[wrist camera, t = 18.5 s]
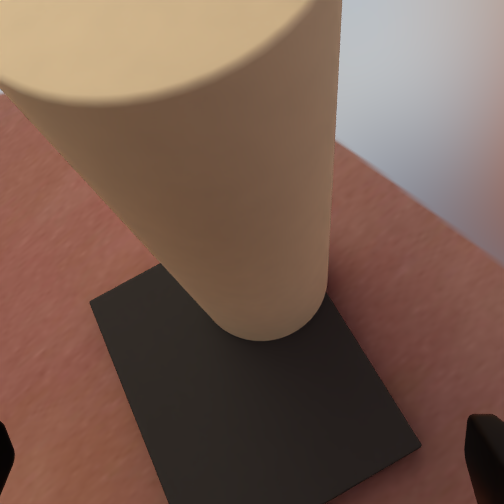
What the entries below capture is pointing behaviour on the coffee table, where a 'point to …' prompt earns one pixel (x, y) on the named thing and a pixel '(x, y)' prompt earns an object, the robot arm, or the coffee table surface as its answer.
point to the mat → (248, 400)
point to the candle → (196, 136)
